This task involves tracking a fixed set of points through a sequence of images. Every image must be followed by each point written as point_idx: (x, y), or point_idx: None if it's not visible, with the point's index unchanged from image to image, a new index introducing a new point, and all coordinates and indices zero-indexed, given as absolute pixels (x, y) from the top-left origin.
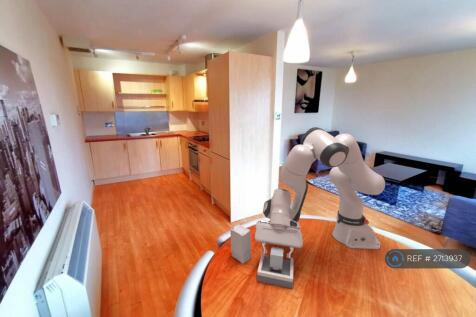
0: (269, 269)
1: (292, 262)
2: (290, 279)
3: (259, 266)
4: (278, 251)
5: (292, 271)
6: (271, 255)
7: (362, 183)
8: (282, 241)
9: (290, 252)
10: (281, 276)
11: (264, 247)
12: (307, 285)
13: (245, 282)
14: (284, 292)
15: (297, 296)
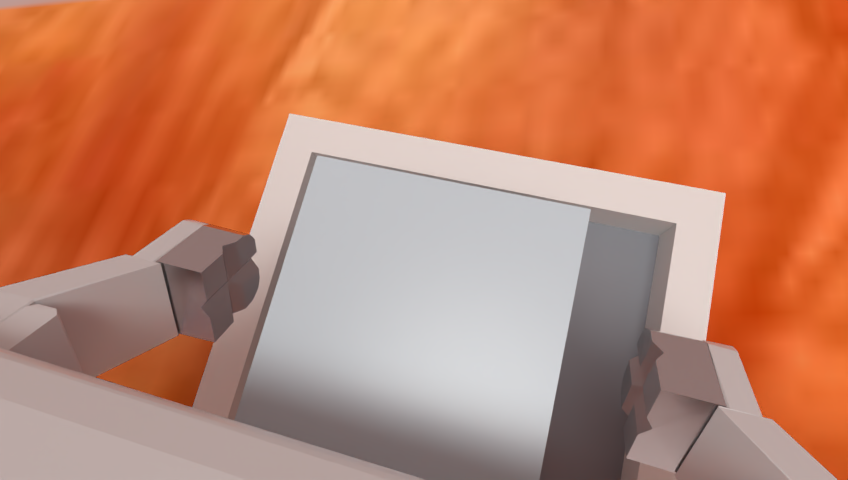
0: None
1: (211, 384)
2: (319, 124)
3: (699, 294)
4: (377, 320)
5: (262, 223)
6: (558, 212)
7: None
8: (110, 478)
9: (114, 265)
10: (412, 140)
11: (770, 447)
12: (187, 204)
13: (803, 207)
14: (409, 120)
15: (309, 92)
